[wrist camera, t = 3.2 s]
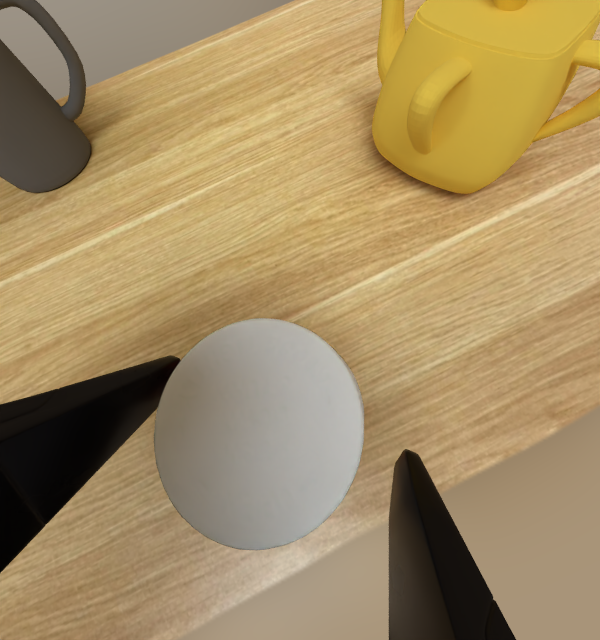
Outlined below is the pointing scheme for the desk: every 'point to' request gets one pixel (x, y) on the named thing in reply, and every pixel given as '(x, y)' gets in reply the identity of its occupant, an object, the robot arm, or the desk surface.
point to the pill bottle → (259, 433)
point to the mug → (40, 116)
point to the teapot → (478, 84)
